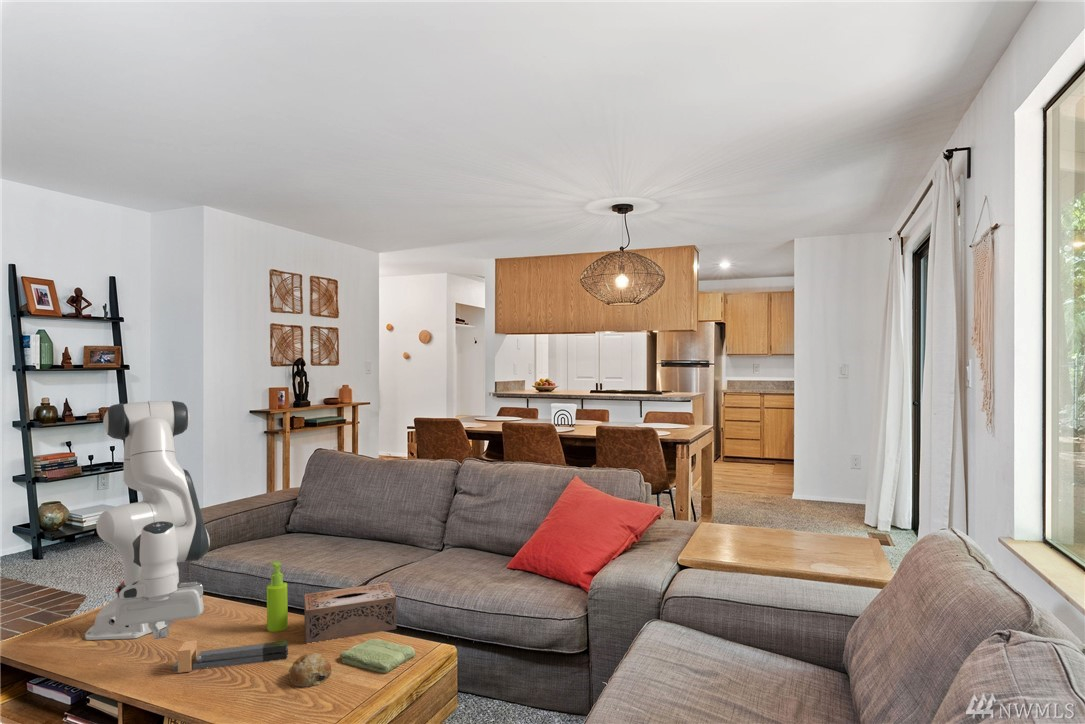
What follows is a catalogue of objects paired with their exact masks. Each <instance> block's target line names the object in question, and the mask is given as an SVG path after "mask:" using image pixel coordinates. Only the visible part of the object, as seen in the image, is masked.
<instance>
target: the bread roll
mask: <svg viewBox="0 0 1085 724" xmlns="http://www.w3.org/2000/svg"><path fill="white" fill-rule="evenodd" d="M331 674H332V664H331V663H330V661H329V660H328V658H326V657H325V656H324V655H323V654H321V653H316V652H315V653H314V652H310V653H306V654H303V655H301V656H299V657H298V658H297V659H296V660H295V661H293V662H292V665H291V666H290V668H289V669H288V676H289V681H290V682H291V684H292V685H294V687H301V688H307V687H312V686H313V687H316V686H318V685H320V684H321V683H324V680H325V681H326V680H327V679H328V678H329V677H330V676H331Z"/></svg>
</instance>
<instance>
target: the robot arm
mask: <svg viewBox="0 0 1085 724" xmlns="http://www.w3.org/2000/svg"><path fill="white" fill-rule="evenodd" d="M102 421H103V422H102V424H103V428H104V430H105V432H106V433H107V435H108V437H110V438H111V439H115V440H121V441H124V446H123V482H124V484H125V485H126V486H127V488H129V489H132V490H134V491H137V492H140V493H141V495H142V501H137V502H131V503H127V504H121V505H118V506H114V507H112V508H109V509H106V510H104V511H103V512H102V513H101V514H100V515H99V516H98V519H97V521H96V533H97V535H98V537H99V538H100V539H101V540H102V541H104V542H105V543H106V544H107V543H108V544H109V545H112V546H113V547H114V548H115V549H116V550H117V551H118V553H119V555H120V557H121V559H122V565H123V566H122V567H123V568H122V569H123V580H122V581H120V583H119V585H118V586H117V587H116V588H115V594H116V595H117V596H116V597H114V598H113V599H112V600H111V601H110V602H109V603H107V604H106V605H105V606H103V608H101V609H100V611H98V613H97V614H96V617H95V620H94V623H93V625H92V626H91V627H89V629H87V631H86V632H85V636H84V639H85V640H86V641H90V640H91V641H92V640H93V641H94V640H95V641H96V640H97V641H98V640H122V639H123V640H124V639H125V640H128V639H129V640H131V639H138V638H140V637H143V636H145V635H147V634H151V633H152V634H153V640H157V639H165V638H167V639H168V637H169V629H170V628H171V626H172V625H173V622H174V621H178V620H185V619H187V620H188V619H193V618H194V619H197V618H199V617H200V616H201V615H202V613H203V612H204V608H205V607H204V600H203V595H204V586H203V585H202V584H201V582H198V581H190V582H189V581H188V582H185V581H184V582H180V575H179V574H180V573H179V572H180V571H179V570H180V569H179V566H178V563H181V562H182V563H183V562H195V561H196V562H197V561H199V560H201V559H202V558H203V557H204V556H205V555H206V554H207V553H208V552H209V550H210V544H211V541H210V540H211V539H210V535H209V533H208V530H207V528H206V525H205V522H204V520H203V519H204V518H203V515H202V510H201V507H200V504H199V500H198V495H197V493H196V488H195V485H194V482H193V478H192V477H191V473H190V471H188V470H187V469H184V468H182V466H181V465H180V464H179V462H178V460H177V457H176V447H175V439H174V437H175V436H179V435H181V434H183V433H185V431H186V430H187V429H188V426H189V424H190V421H191V414H190V411H189V409H188V407H187V405H186V404H185V403H184V402H182V401H178V400H172V401H167V400H166V401H165V400H163V401H162V400H148V401H139V402H128V403H123V402H121V403H116V404H112V405H110V406H109V407H108V408H107V409H106V412H105V414H104V416H103V420H102Z"/></svg>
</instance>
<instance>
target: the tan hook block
mask: <svg viewBox="0 0 1085 724" xmlns="http://www.w3.org/2000/svg"><path fill="white" fill-rule="evenodd" d="M197 655H198V640H187V641H184V642H183V643H182V645H181V646H180V648H179V649H178V650H177V661H178V672H177V673H178V674H179V673H188V672H191V671H193V670H192V669H191V660H193V659H195V658H196V656H197Z"/></svg>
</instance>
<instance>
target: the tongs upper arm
mask: <svg viewBox="0 0 1085 724" xmlns="http://www.w3.org/2000/svg"><path fill="white" fill-rule="evenodd" d="M287 648H288V649H289V640H280V641H271V642H265V643H264V642H263V643H258V644H257V643H256V644H250V645H241V646H234V647H233V646H231V647H226V648H217V649H209V650H208V649H207V650H201V651H200V650H199V652H197V656H196V658H195V661H196V662H200V661H208V660H216V659H224V658H232V657H240V656H248V655H256V654H266V653H274V652H282V651H286V650H287Z"/></svg>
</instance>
